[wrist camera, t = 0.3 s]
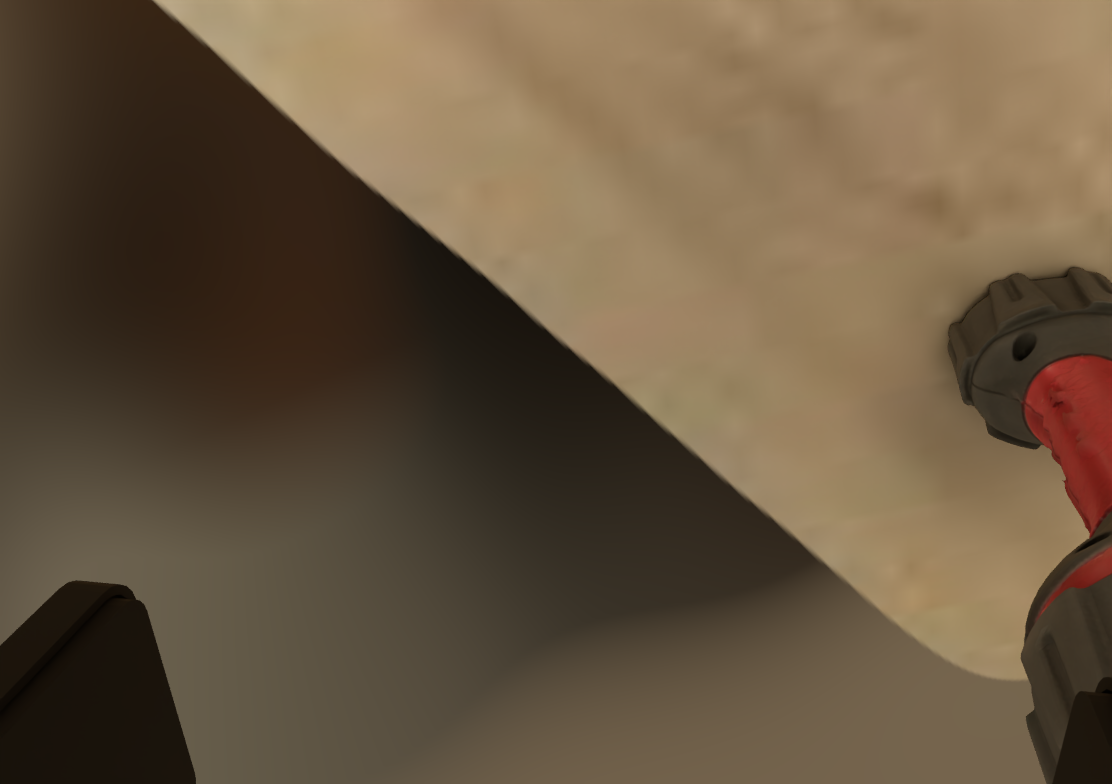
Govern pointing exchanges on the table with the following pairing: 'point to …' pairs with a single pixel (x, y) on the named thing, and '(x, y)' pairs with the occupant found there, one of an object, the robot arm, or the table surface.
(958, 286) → the table surface
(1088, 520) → the flashlight
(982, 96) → the table surface
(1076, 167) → the table surface
